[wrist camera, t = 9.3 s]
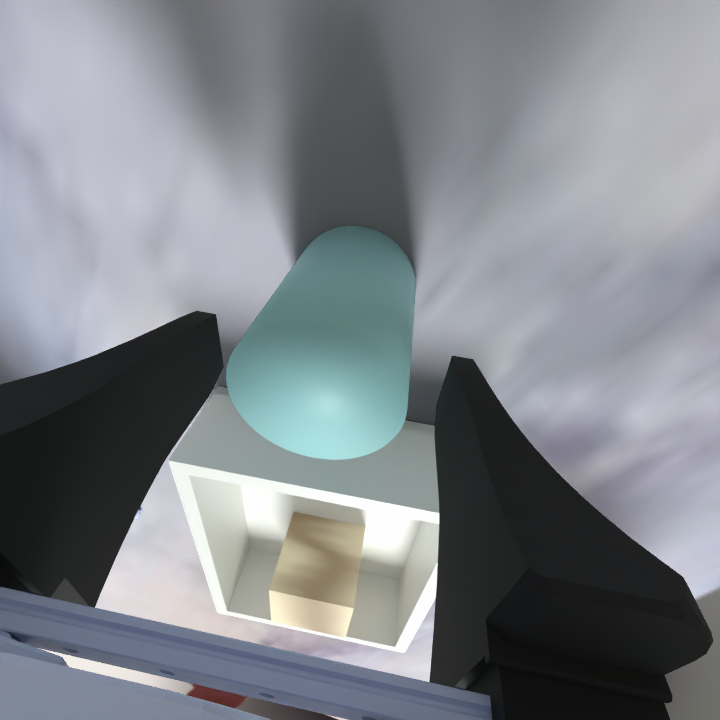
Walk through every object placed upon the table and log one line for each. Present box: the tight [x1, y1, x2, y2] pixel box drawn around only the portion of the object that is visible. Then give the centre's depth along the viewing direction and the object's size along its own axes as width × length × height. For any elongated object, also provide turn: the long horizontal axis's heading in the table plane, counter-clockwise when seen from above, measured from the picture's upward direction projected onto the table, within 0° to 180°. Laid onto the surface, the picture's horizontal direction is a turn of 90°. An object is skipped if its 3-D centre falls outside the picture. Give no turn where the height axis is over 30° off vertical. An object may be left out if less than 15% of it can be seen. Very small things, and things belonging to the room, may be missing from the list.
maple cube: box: [269, 512, 365, 638], centre depth 25 cm, size 5×5×5 cm
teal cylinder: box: [226, 226, 416, 460], centre depth 13 cm, size 5×5×7 cm
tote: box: [168, 386, 439, 653], centre depth 24 cm, size 14×18×5 cm
